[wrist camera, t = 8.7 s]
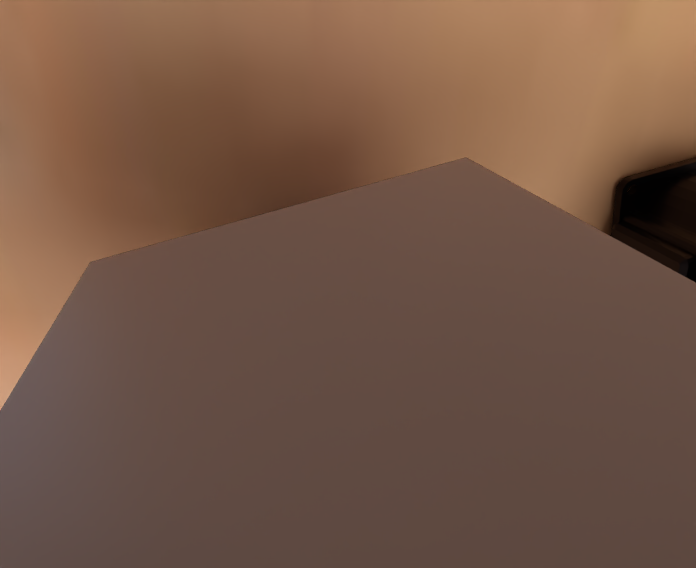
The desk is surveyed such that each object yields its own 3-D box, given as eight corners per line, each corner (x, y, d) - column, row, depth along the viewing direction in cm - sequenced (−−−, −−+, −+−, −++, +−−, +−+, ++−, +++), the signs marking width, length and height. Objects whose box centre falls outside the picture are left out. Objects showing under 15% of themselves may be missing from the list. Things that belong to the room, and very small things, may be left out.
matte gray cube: (466, 157, 10) (1321, 624, 2) (486, 418, 14) (809, 910, 6) (90, 262, 9) (-654, 1496, 1) (225, 504, 13) (216, 1178, 5)
